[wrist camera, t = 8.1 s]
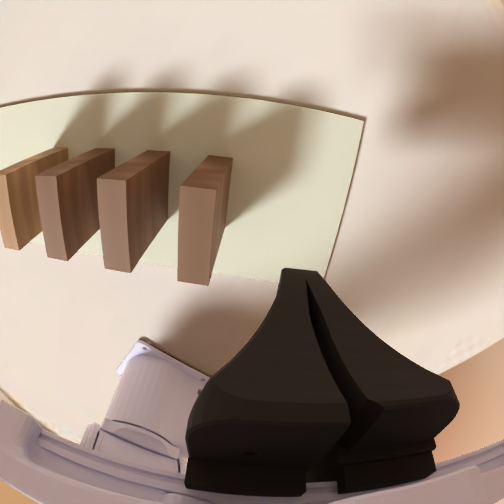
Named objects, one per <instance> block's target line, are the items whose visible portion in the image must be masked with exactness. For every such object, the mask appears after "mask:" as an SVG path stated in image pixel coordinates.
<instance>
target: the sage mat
mask: <svg viewBox="0 0 504 504" xmlns="http://www.w3.org/2000/svg"><path fill="white" fill-rule="evenodd" d="M363 123H364V121H362V120H358V119H354V118H351V117H347V116H342V115H338V114H334V113H330V112H325V111H320V110H316V109H311V108H306V107H300V106H295V105H289V104H284V103H277V102H271V101H264V100H257V99H249V98H241V97H232V96H221V95H209V94H194V93H171V92H127V93H104V94H90V95H78V96H68V97H60V98H52V99H45V100H38V101H32V102H27V103H21V104H16V105H11V106H6V107H1V108H0V170H2V169H4V168H6V167H9V166H11V165H13V164H15V163H17V162H20V161H22V160H24V159H27V158H29V157H31V156H34V155H36V154H39V153H41V152H44V151H46V150H49V149H52V148H68V160H69V159H71V158H74V157H76V156H78V155H81V154H83V153H85V152H88V151H90V150H93V149H95V148H115V168H116V167H117V166H119V165H121V164H123V163H125V162H126V161H128V160H130V159H132V158H134V157H136V156H138V155H140V154H141V153H143V152H145V151H147V150H156V151H170V167H169V189H168V220H167V222H166V223H165V224H164V226H163V227H162V228H161V230H160V231H159V233H158V234H157V235H156V237H155V238H154V240H153V241H152V243H151V244H150V245H149V247H148V248H147V250H146V251H145V253H144V254H143V256H142V257H141V259H140V260H139V262H140V263H147V264H153V265H159V266H165V267H172V268H178V219H179V195H180V185H181V184H182V183H183V182H184V181H185V180H186V179H187V178H188V176H189V175H190V174H191V173H192V172H193V171H194V170H195V169H196V168H197V167H198V166H199V165H200V164H201V163H202V162H203V160H204V159H205V158H206V157H207V156H208V155H213V156H222V157H230V158H233V163H232V171H231V180H230V188H229V197H228V206H227V215H226V224H225V230H224V233H223V236H222V240H221V243H220V247H219V250H218V253H217V257H216V260H215V264H214V267H213V271H212V274H218V275H225V276H232V277H239V278H247V279H254V280H261V281H269V282H276V283H279V280H280V275H281V270H282V269H283V268H294V269H303V270H312V271H318V273H319V274H320V275H321V276H322V277H323V279H324V276H325V272H326V269H327V266H328V262H329V259H330V256H331V252H332V249H333V246H334V242H335V239H336V235H337V231H338V228H339V224H340V221H341V217H342V213H343V209H344V205H345V202H346V198H347V194H348V190H349V186H350V182H351V178H352V173H353V169H354V165H355V160H356V156H357V152H358V147H359V142H360V138H361V133H362V128H363ZM29 243H33V244H39V245H44V246H45V242H44V236H43V231H42V232H41V233H40V234H38V235H37V236H36V237H35V238H33V239H32V240H31V241H30V242H29ZM77 252H82V253H88V254H93V255H99V256H103V251H102V243H101V233H100V229H99V230H98V231H97V232H96V233H95V234H94V235H93V236H92V237H91V238H90V239H89V240H88V241H87V242H86V243H85V244H84V245H83V246H82V247H81V248H80V249H79V250H78V251H77Z"/></svg>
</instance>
